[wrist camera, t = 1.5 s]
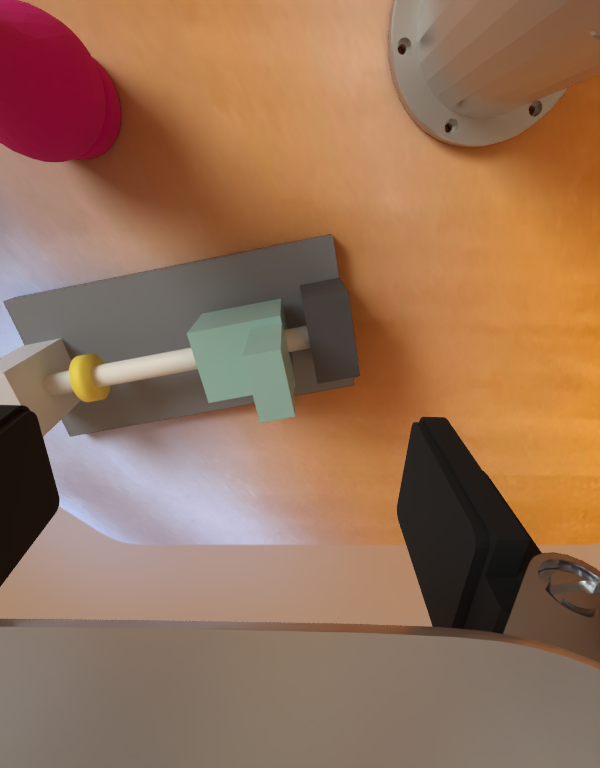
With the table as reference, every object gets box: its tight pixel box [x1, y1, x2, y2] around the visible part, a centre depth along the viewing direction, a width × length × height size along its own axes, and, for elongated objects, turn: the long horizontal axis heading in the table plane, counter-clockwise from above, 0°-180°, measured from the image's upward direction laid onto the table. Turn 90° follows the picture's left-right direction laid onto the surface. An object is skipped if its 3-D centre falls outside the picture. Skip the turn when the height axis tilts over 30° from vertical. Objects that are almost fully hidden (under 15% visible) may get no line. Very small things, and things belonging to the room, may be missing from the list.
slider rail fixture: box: [0, 234, 360, 436], centre depth 29 cm, size 25×12×8 cm, turn 100°
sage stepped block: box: [187, 299, 295, 423], centre depth 26 cm, size 6×5×10 cm
